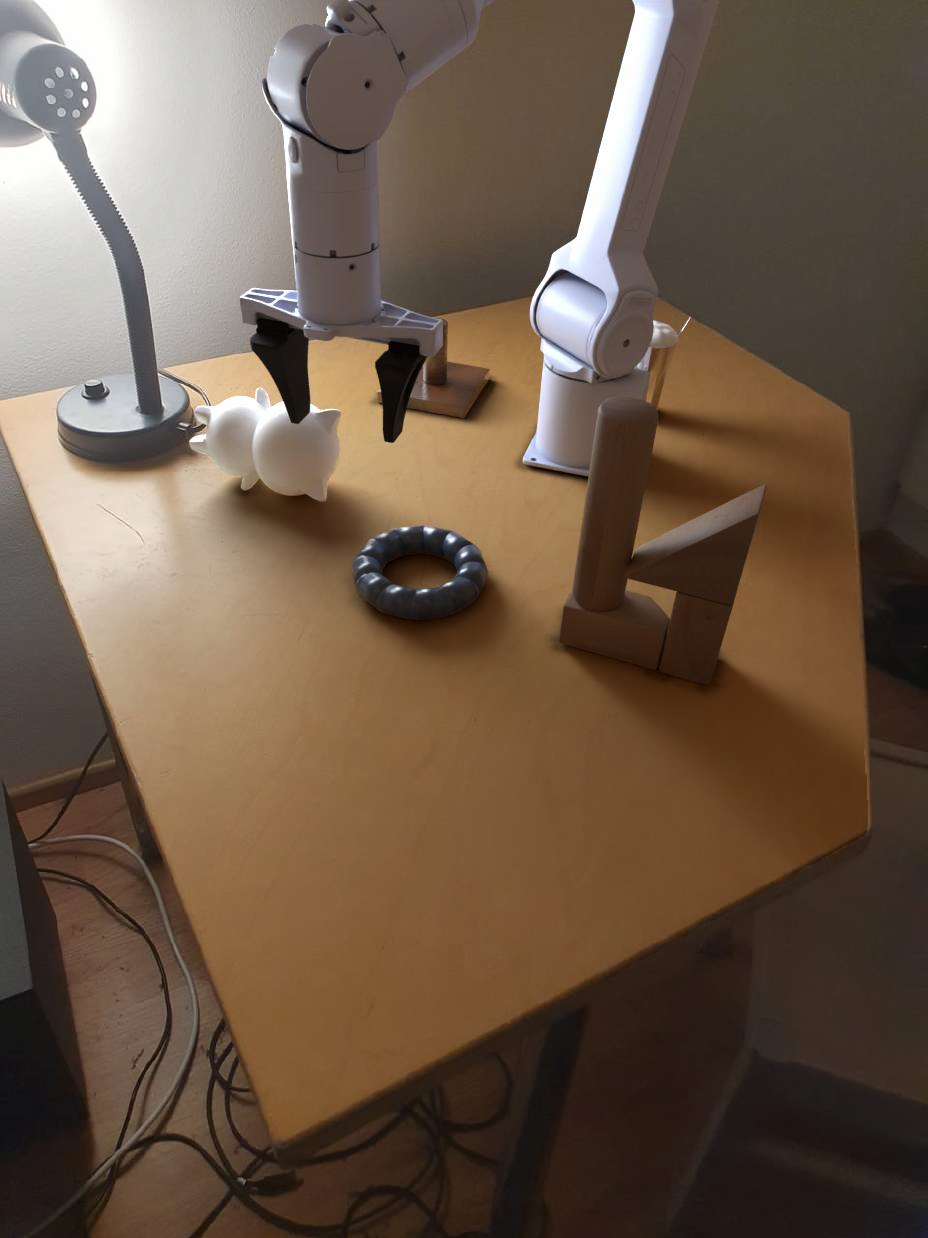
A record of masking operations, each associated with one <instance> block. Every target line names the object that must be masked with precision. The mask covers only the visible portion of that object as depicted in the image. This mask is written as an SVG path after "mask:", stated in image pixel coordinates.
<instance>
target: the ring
mask: <svg viewBox="0 0 928 1238" xmlns="http://www.w3.org/2000/svg"><path fill="white" fill-rule="evenodd" d="M422 554H424V555H429V556H433V557H438V558H442V559H444V560H446V561H447V562H449V563H450V564H451V565H453V566H455V571H456V574H455V576H454V578H453V579H451V580H449V581H447V582H446V583H443V584H442V585H440V586H436V587H435V586H434V587H427V588H417V589H416V588H411V587H407V586H404V585H403V586H402V585H398V584H395V583H393V581H391V580H389V578H387V577H385V575H384V573H383V570H384V568H385V567H386V565H387V564H388V563H390V562H392V561H394V560H396V559H398V558H400V557H401V556H412V555H422ZM351 573H352V577H353V582H354V583H353V584H354V586H355V591H356V592H357V594H358V595H359V597H361V598H362V599H363V600H364V601H365V602H367V603H368V604H370V605H371V606H372V607H373V608H375V609H376V610H377V611H378V612H380V613H382V614H385V615H390V616H393V617H398V618H401V619H406V620H410V621H422V620H429V619H439V618H448V617H450V616H452V615H454V614H456V613H458V612H459V611H461V610H462V609H465V608H466V607H468V606H470V605H471V604H473V603H475V602H476V601H477V600H478V599H479V596H480V595H481V592H482V590H483V588H484V586H485V584H486V581H487V579H488V577H489V570H488V567H487V564H486V562H485V560H484V557H483V555H482V552H481V550H480V548H479V546H477V545H476V544H474V543H473V542H472V541H470V540H468V539H467V538H466V537H464V536H463V535H461V534H460V533H458V532H457V531H454V530H451V529H447V528H441V527H436V526H431V525H428V524H427V525H426V524H421V525H420V524H419V525H411V526H403V527H402V526H401V527H393V528H391V529H389V530H387V531H385V532H382V533H381V534H378V535H376V536H373V537H372V538H370V539H368V540H367V541H366V542H365V543H364V544H363V546H362V547H361V549H360V550H359V552H358V553H357V555H356V556H355V557H354V559H353V561H352V564H351Z"/></svg>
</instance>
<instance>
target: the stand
mask: <svg viewBox="0 0 928 1238" xmlns="http://www.w3.org/2000/svg"><path fill="white" fill-rule="evenodd" d="M436 318H437V319H442V320H443V346H442V347H441V348H440V350H439V351H438V352H437V353H436V354H435V355H434V357H430V356H428V357H427V359H426V361H425V363H424V364H423V367H422V369H421V371H420V373H419V375H418V377H417V380H416V382H415V385H414V387H413V390H412V393H411V396H410V399H409V402H408V405H407V409H411V410H417V411H421V412H427V413H431V414H432V413H433V414H438V415H443V416H448V417H455V418H459V419H464V418H465V417H466V416H467V414H468V412H469V411H470V409H471V408H472V407H473V405H474V403H475V402H476V400H477V399H478V397H479V396H480V394H481V393H482V391H483V390H484V388H485V387H486V385H487V384H488V382H489V381H490V373H491V369H490V368H487V367H481V366H476V365H469V364H465V363H458V362H452V361H448V352H449V351H448V349H449V322H448V321H447V320H446V319H444V318H441V317H436ZM376 393H377V394H376V395H377V403H379V404H383V403H382V395H381V389H380V388H379V389H378V390H377V392H376Z"/></svg>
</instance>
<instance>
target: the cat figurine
mask: <svg viewBox="0 0 928 1238" xmlns="http://www.w3.org/2000/svg"><path fill="white" fill-rule="evenodd" d="M193 415H194V417H195V419H196V420H197V421H198V422H199V423H202V424H203V425H205V426H206V430H205V434H199V435H195V436H193V437H191V439H190V440H189V443H188V444H189V447H190V449H191V450H192V451H194V452H196V453H199V454H203V455H205V456H207V457H208V458H209V459H210V460H211V461H212V463H213V464H214V465H215V467H216V468H217V469H218V470H219V471H221V472H222V473H224V474H225V475H228V476H230V477H236V478H237V477H239V478H242V479H241V482H240V489H242V490H243V491H248V490H250V489H252V488H253V487H254V486H255V484H256V483H258V480H261V481H262V483H263V484H264V485H265V486H266V487H267V488H269V489H270V490H271V491H273V492H275V493H277V494H280V495H283V496H288V497H289V496H292V497H294V496H301V495H307V496H308V497H310V498H311V499H313V500H315V501H318V502H322V503H323V502H326V501H327V496H328V495H327V494H328V485H329V481H330V479H331V478H332V476H333V474H334V473H335V472H336V469H337V467H338V465H339V462H340V458H341V442H340V439H339V435H338V428H339V423H340V420H341V417H342V410H340V409H337V408H327V409H326V408H325V409H319V407H317V406H315V405H314V404H312V403H310V413H309V414H308V415H307V416H306V417H305V418H304V419H303V420H302V421H301V422H300V423H299V424H294V423H291V421H290V418H289V415H288V413H287V410H286V407H285V405H284V402H283V401H280V402H278V403H276V404H275V405H273V406H272V404H271V401H270V397H269V394H268V392H267V391H266V390H265V389H264V388H263V387H258V388H256V390H255V399H254V398H253V397H252V398H251V397H248V396H244V395H236V396H232V397H229V398H227V399H225V400H223V401H222V402H221V403H219V404H216V405H215V406H214V405H213V406H209V405H198V406H197V407H196V408H195V409H194V411H193Z"/></svg>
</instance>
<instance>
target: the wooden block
mask: <svg viewBox="0 0 928 1238" xmlns="http://www.w3.org/2000/svg"><path fill="white" fill-rule="evenodd" d="M659 417H660V415H659V412H658V409H656V408H655V407H654V406H653V405H652V404H651V403H649V402H647V401H645V400H642V399H638V398H633V397H614V398H610V399H608V400H605V401H604V402H603V403H602V404H601V405H600V407H599V410H598V415H597V422H596V429H595V436H594V443H593V450H592V457H591V464H590V471H589V477H587V478H588V479H587V486H586V492H585V499H584V505H583V511H582V512H583V513H582V518H581V519H582V520H581V527H580V534H579V541H578V548H577V555H576V561H575V570H574V576H573V582H572V587H571V589H570V591H569V593H568V594H567V595H568V596H567V597H566V599H565V601H564V604H563V605H562V612H561V618H560V619H561V620H560V627H559V635H558V641H559V643H560V644H562V645H566V646H568V647H573V648H577V649H580V650H582V651H587V652H590V653H592V654H593V653H594V654H597V655H601V656H605V657H607V658H610V659H611V658H612V659H614V660H619V661H621V662H625V663H629V664H632V665H636V666H640V667H642V668H643V667H644V668H646V669H650V670H657V669H659V672H661V673H662V674H666V675H669V676H672V677H677V678H681V679H684V680H686V681H687V680H688V681H690V682H694V683H698V684H701V685H709V683H710V682H711V681H712V678H713V676H714V675H713V674H714V672H715V669H716V665H717V661H718V658H719V655H720V652H721V647H722V645H723V641H724V637H725V634H726V631H727V627H728V625H729V620H730V617H731V614H732V611H733V607H734V604H735V600H736V595H737V593H738V588H739V584H740V582H741V577H742V574H743V571H744V568H745V565H746V561H747V558H748V554H749V552H750V547H751V545H752V541H753V538H754V534H755V531H756V528H757V525H758V522H759V521H758V520H759V518H760V514H761V509H762V506H763V503H764V498H765V494H766V491H767V487H768V486H767V484H761V485H760V486H758V487H755V488H754V489H751V490H749V491H748V492H745V493H744V494H741V495H739V496H737V497H736V498H733V499H731V500H729V501H727V502H725V503H723V504H721V505H719V506H717V507H715V508H713V509H711V510H709V511H708V512H707V511H706V512H704V513H703V514H701V515H699V516H697V517H695V518H693V519H691V520H689V521H686V522H685V523H683V524H681V525H679V526H677V527H675V528H673V529H671V530H668V531H667V532H665V533H663V534H661V535H658V536H657V537H655V538H653V539H651V540H649V541H646V542H645V543H643V544H641V545H638V546H637V547H636V548H635V547H634V546H635V543H636V538H637V532H638V527H639V522H640V516H641V511H642V507H643V501H644V495H645V491H646V486H647V482H648V481H647V480H648V475H649V470H650V465H651V460H652V455H653V449H654V444H655V439H656V434H657V428H658V423H659ZM634 548H635V550H634ZM628 580H631V581H635V582H639V583H643V584H646V585H651V586H654V587H658V588H662V589H665V590H669V591H674V592H675V597H674V599H673V600H674V601H673V605H672V609H671V613H670V617H669V615H668V614H667V613H666V612H665V611H664V610H663V608H661V606H659V604H657V602H656V601H655V600H654V599H653V598H652V597H651V596H649V595H645V594H641V593H638V592H635V591H630V590H626V589H627V584H628Z"/></svg>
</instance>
